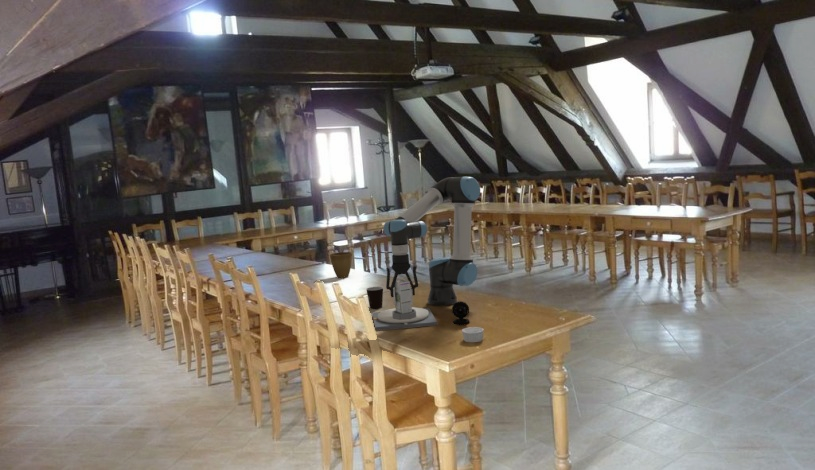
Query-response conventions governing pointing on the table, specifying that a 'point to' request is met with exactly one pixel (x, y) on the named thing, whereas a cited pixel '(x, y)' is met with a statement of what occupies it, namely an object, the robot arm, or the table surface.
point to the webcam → (460, 313)
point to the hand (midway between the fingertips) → (403, 303)
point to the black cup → (375, 297)
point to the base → (385, 326)
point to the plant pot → (341, 263)
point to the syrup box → (403, 296)
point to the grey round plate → (403, 315)
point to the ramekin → (473, 334)
